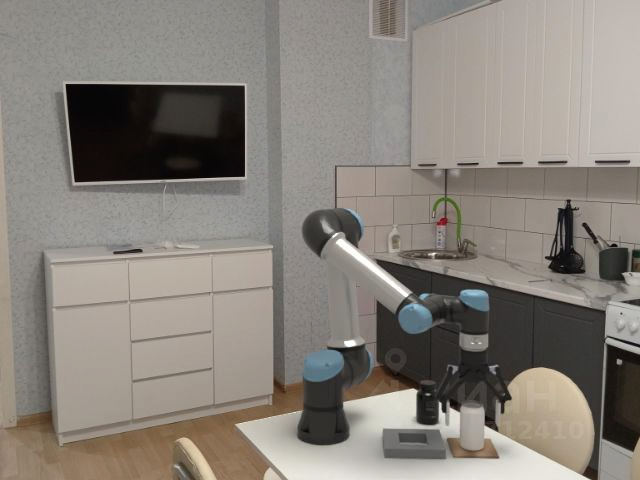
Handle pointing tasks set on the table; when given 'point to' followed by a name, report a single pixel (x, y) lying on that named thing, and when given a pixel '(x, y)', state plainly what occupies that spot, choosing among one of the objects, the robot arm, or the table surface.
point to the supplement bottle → (427, 403)
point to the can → (472, 425)
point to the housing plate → (425, 451)
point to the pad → (459, 452)
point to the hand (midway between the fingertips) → (472, 424)
